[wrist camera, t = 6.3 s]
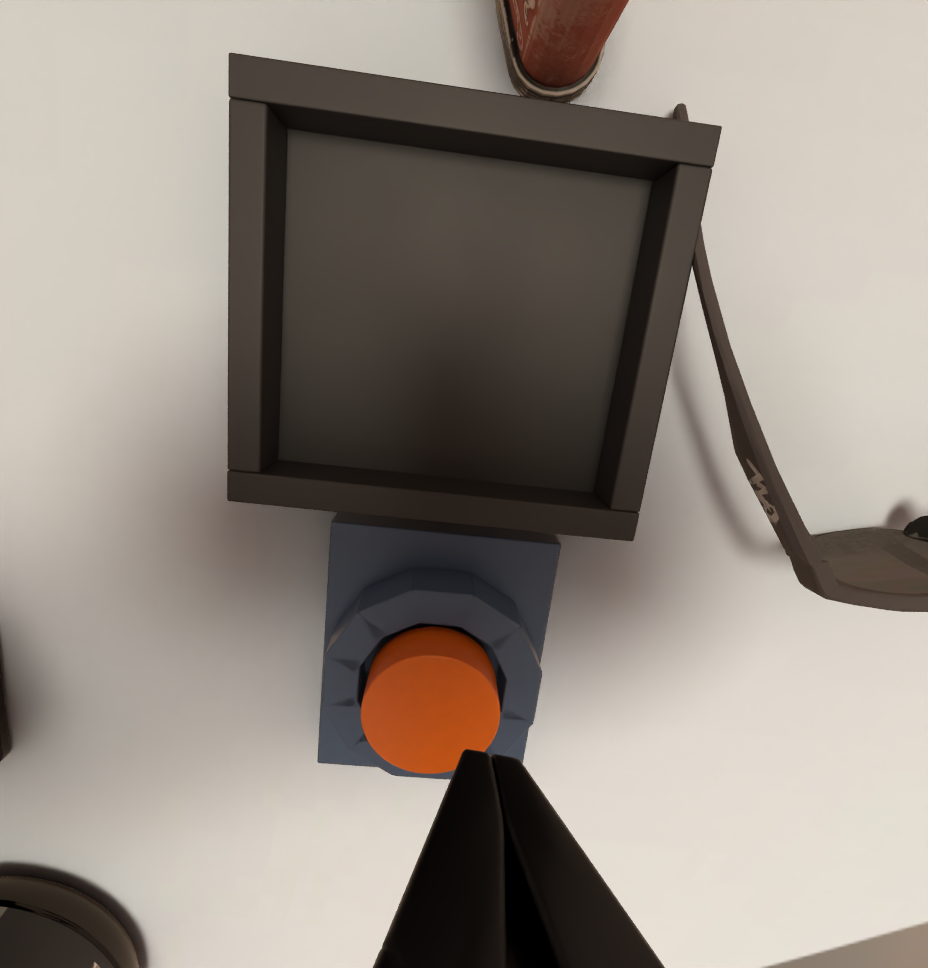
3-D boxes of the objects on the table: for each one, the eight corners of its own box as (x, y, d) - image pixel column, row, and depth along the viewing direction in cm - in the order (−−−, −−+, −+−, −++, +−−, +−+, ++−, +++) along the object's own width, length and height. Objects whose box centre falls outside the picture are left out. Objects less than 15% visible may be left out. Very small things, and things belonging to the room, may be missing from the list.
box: (516, 755, 23) (526, 816, 20) (323, 741, 23) (305, 801, 20) (555, 532, 20) (572, 565, 18) (337, 510, 20) (319, 540, 17)
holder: (611, 517, 20) (634, 542, 18) (253, 480, 20) (226, 501, 17) (684, 154, 17) (723, 125, 15) (259, 91, 16) (228, 51, 14)
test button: (486, 741, 20) (490, 779, 18) (363, 731, 20) (355, 769, 18) (503, 631, 19) (509, 662, 17) (372, 620, 18) (365, 649, 17)
